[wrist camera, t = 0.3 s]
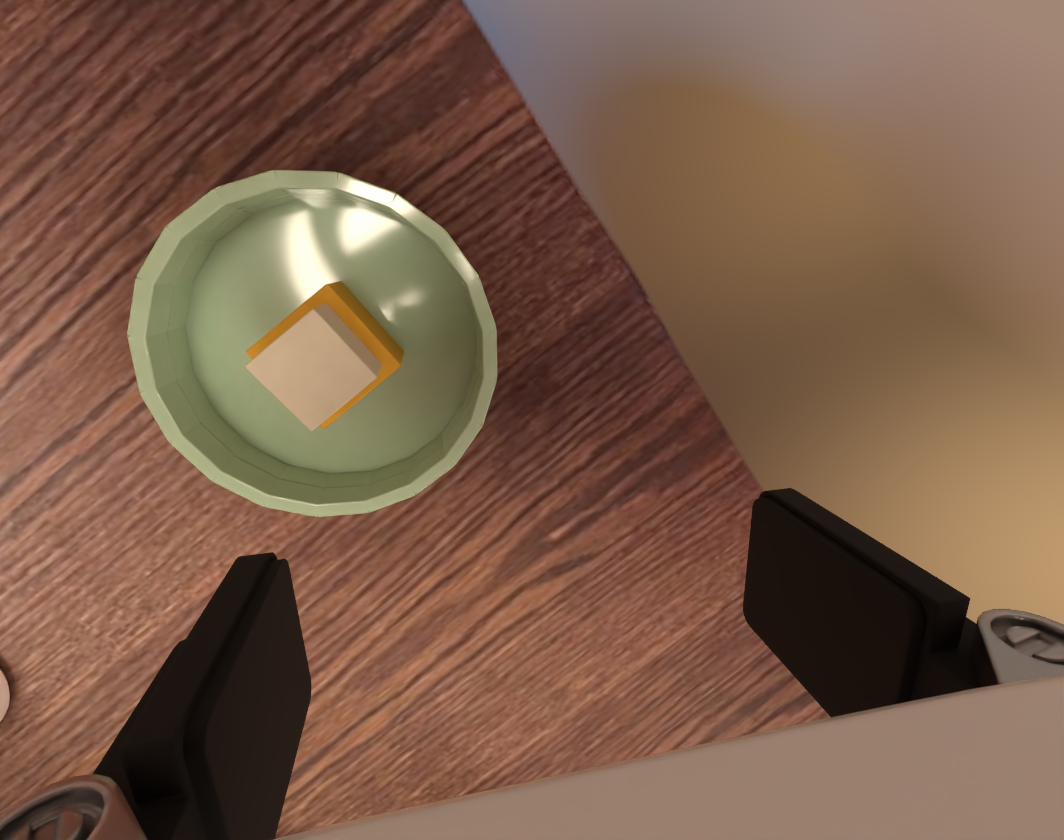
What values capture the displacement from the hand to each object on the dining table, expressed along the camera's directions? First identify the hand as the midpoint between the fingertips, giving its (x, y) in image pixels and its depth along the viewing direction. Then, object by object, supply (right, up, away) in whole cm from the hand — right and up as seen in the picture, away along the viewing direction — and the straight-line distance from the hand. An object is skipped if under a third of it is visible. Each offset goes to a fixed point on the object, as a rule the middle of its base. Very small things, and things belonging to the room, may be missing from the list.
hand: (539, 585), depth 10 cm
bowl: (-9, +7, +14) cm, 17 cm away
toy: (-9, +7, +13) cm, 17 cm away
